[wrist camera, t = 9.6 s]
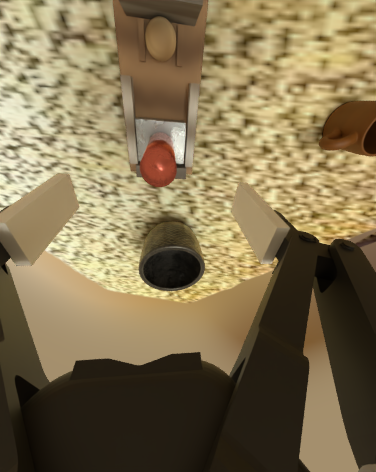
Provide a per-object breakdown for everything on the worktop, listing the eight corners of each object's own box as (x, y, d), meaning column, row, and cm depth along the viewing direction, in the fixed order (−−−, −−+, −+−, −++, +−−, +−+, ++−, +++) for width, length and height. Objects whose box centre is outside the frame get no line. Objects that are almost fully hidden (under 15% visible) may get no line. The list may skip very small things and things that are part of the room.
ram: (138, 116, 30) (117, 129, 17) (184, 120, 31) (196, 136, 18) (141, 155, 33) (125, 189, 21) (181, 157, 34) (190, 192, 22)
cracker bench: (112, -30, 22) (87, -90, 15) (207, -13, 24) (224, -60, 17) (132, 168, 37) (124, 184, 30) (190, 171, 38) (196, 187, 31)
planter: (137, 244, 49) (129, 283, 39) (156, 203, 42) (153, 236, 32) (182, 259, 54) (186, 296, 44) (206, 223, 47) (218, 258, 37)
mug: (297, 157, 39) (328, 171, 31) (300, 117, 34) (337, 122, 27) (355, 138, 37) (402, 149, 30) (367, 94, 33) (426, 93, 25)
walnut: (158, 14, 24) (157, -2, 20) (181, 44, 25) (183, 34, 22) (140, 45, 25) (136, 35, 22) (163, 72, 27) (162, 66, 23)
